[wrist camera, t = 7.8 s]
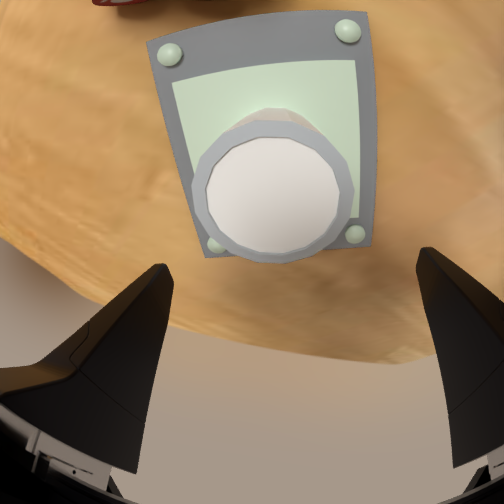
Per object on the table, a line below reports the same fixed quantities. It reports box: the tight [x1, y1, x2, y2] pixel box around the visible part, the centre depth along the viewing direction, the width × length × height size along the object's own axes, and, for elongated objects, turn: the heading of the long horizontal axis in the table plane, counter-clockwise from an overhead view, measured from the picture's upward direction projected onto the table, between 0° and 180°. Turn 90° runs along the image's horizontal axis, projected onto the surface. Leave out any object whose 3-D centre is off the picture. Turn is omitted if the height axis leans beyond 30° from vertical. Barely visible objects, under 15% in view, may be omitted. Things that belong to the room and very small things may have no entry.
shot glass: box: [191, 107, 355, 264], centre depth 14 cm, size 7×7×7 cm
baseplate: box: [146, 10, 377, 258], centre depth 18 cm, size 14×18×2 cm
